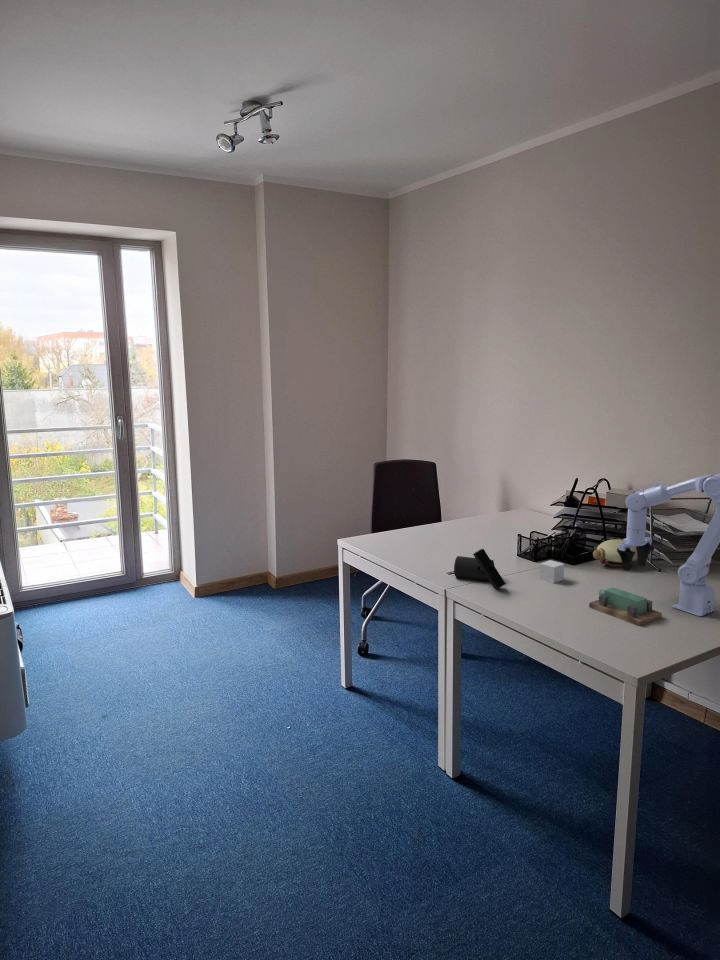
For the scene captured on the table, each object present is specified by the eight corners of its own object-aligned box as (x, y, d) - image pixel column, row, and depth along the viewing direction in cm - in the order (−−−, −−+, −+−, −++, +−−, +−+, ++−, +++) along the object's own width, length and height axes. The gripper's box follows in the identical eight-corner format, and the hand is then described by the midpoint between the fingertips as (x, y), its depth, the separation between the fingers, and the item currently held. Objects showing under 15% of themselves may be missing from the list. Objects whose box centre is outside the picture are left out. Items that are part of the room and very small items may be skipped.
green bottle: (646, 612, 199) (647, 598, 198) (637, 615, 197) (637, 601, 196) (605, 597, 212) (605, 584, 211) (596, 600, 209) (596, 587, 209)
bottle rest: (661, 617, 199) (662, 603, 198) (639, 626, 193) (639, 611, 192) (611, 599, 214) (612, 586, 213) (589, 607, 208) (589, 593, 207)
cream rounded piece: (648, 567, 244) (607, 574, 239) (621, 555, 259) (581, 562, 254) (649, 543, 242) (607, 550, 238) (621, 532, 257) (581, 539, 253)
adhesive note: (563, 579, 234) (564, 563, 233) (553, 583, 230) (554, 567, 229) (549, 575, 238) (550, 559, 237) (539, 579, 235) (539, 563, 234)
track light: (444, 563, 243) (455, 561, 223) (476, 543, 245) (489, 539, 225) (466, 599, 242) (479, 600, 222) (498, 578, 243) (514, 578, 224)
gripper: (639, 522, 220) (637, 560, 223) (611, 529, 213) (609, 568, 216) (658, 526, 215) (655, 565, 217) (630, 533, 207) (628, 574, 210)
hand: (634, 567), depth 216 cm, fingers open, 7 cm apart
